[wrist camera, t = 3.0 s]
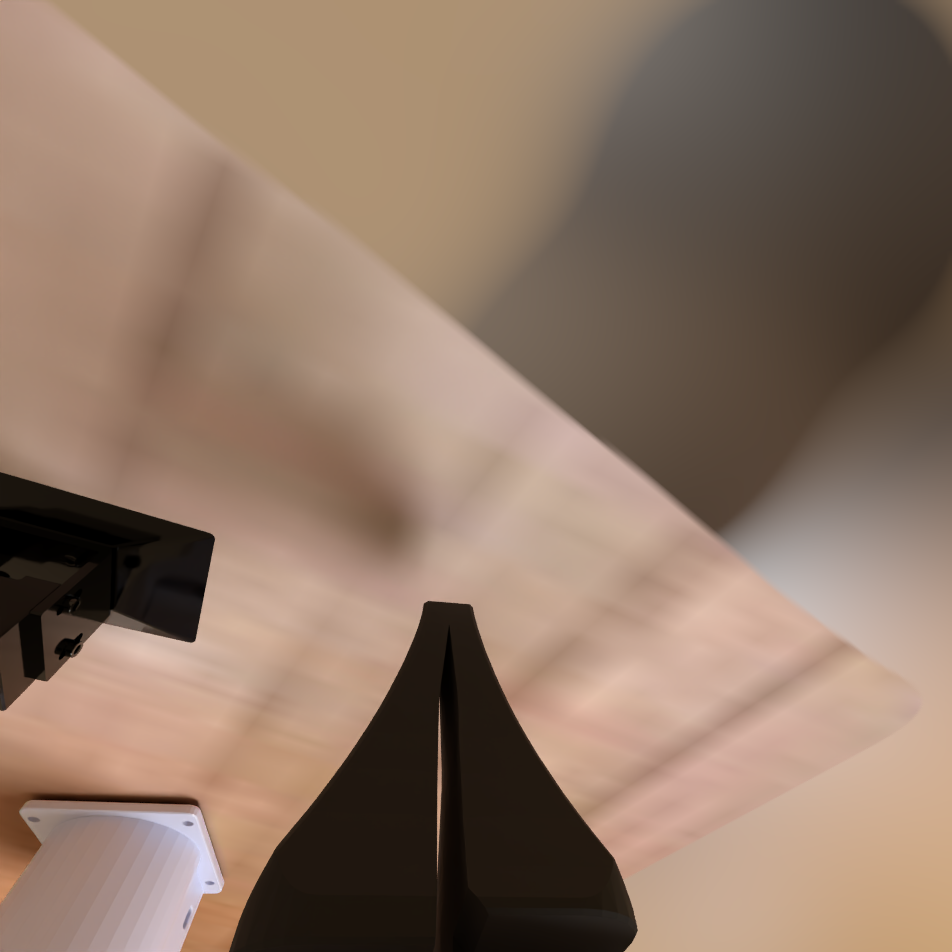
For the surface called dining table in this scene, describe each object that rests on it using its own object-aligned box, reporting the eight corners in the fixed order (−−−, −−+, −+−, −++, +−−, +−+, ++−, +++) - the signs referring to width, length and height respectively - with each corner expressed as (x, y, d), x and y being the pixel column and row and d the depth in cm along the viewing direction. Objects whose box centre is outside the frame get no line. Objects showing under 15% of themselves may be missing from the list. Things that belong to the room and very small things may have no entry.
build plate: (-132, 566, 14) (-367, 690, 10) (-193, 369, 11) (-564, 437, 7) (242, 654, 17) (172, 782, 13) (277, 514, 14) (199, 625, 10)
